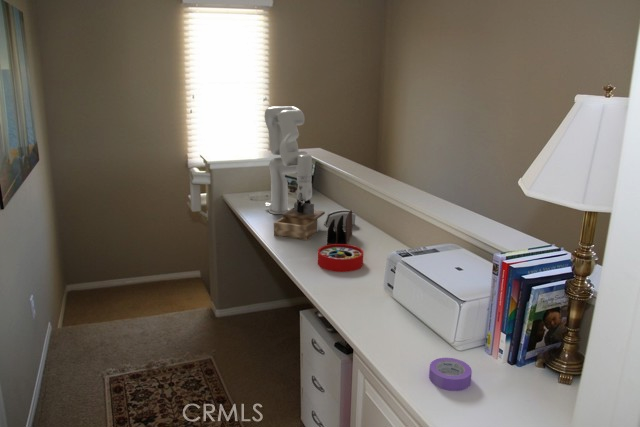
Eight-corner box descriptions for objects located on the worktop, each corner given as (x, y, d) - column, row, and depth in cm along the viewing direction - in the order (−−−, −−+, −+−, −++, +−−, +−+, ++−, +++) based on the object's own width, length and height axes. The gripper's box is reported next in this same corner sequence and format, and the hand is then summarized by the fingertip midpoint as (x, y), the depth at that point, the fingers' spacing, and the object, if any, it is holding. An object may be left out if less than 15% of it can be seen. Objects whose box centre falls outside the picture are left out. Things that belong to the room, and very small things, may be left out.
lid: (282, 216, 290) (282, 205, 288) (293, 209, 303) (293, 198, 301) (315, 220, 284) (315, 208, 282) (324, 213, 297) (324, 202, 295)
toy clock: (371, 256, 240) (328, 261, 233) (370, 269, 242) (328, 275, 234) (351, 242, 258) (311, 246, 250) (351, 254, 259) (310, 259, 252)
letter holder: (352, 234, 287) (353, 208, 283) (346, 247, 268) (347, 218, 264) (332, 233, 289) (333, 206, 285) (326, 245, 270) (327, 217, 266)
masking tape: (421, 381, 159) (422, 369, 158) (440, 364, 168) (441, 353, 167) (459, 396, 152) (461, 384, 151) (477, 378, 161) (478, 366, 160)
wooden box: (273, 235, 282) (273, 222, 280) (285, 228, 295) (285, 215, 293) (307, 240, 276) (307, 226, 274) (317, 232, 289) (317, 219, 287)
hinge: (351, 221, 308) (354, 207, 302) (354, 227, 304) (358, 212, 299) (323, 224, 302) (325, 209, 296) (326, 229, 298) (329, 214, 293)
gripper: (304, 182, 279) (304, 215, 283) (317, 175, 294) (316, 207, 299) (290, 180, 281) (290, 213, 286) (303, 174, 297) (303, 205, 302)
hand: (304, 210), depth 293 cm, fingers open, 9 cm apart
